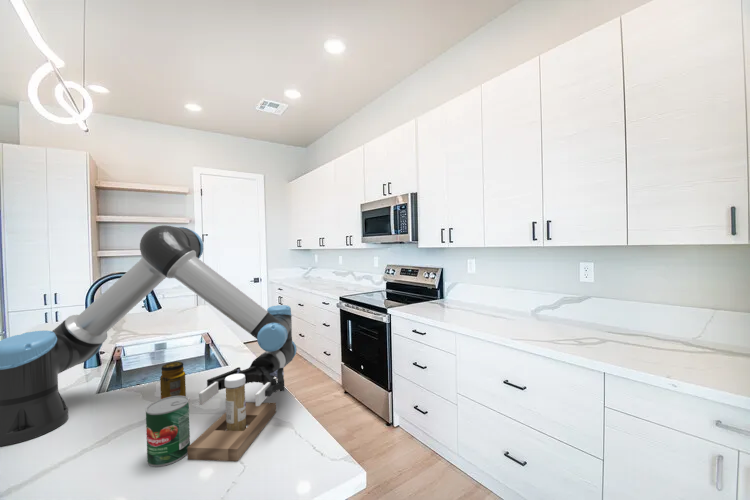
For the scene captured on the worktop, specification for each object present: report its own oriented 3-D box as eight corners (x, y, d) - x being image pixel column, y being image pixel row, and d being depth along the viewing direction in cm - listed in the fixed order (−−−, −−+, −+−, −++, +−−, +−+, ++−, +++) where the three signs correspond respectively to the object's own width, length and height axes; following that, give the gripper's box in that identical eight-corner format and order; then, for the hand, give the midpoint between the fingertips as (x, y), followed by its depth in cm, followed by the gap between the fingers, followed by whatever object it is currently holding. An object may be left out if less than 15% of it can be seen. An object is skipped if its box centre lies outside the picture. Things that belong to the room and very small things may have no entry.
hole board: (187, 459, 68) (187, 447, 68) (237, 411, 88) (236, 401, 88) (237, 461, 67) (237, 449, 67) (276, 411, 87) (275, 402, 87)
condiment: (190, 399, 96) (188, 358, 96) (184, 412, 89) (182, 368, 88) (161, 404, 94) (159, 362, 94) (152, 418, 86) (151, 373, 86)
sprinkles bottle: (248, 433, 77) (247, 377, 77) (227, 440, 75) (226, 381, 75) (244, 425, 81) (243, 371, 81) (224, 431, 79) (223, 375, 79)
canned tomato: (142, 471, 65) (140, 416, 65) (151, 449, 72) (150, 400, 72) (188, 460, 68) (186, 407, 68) (192, 440, 76) (190, 392, 75)
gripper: (309, 378, 95) (281, 417, 73) (227, 377, 97) (178, 414, 76) (308, 353, 94) (280, 384, 73) (227, 352, 97) (176, 382, 76)
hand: (228, 399), depth 74 cm, fingers open, 13 cm apart
